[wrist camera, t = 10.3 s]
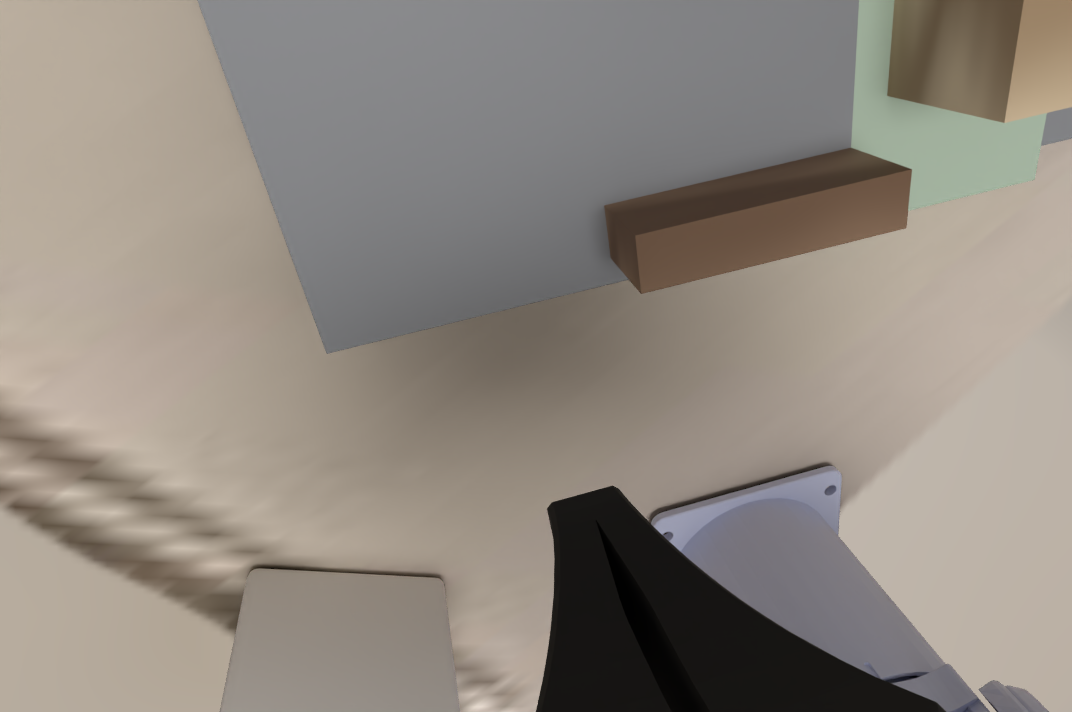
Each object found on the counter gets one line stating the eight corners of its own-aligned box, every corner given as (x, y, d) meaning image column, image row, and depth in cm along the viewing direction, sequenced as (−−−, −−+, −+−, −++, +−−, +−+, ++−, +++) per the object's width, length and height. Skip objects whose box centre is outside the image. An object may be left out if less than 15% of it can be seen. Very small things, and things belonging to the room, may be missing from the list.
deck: (1160, 109, 24) (1254, 125, 22) (331, 308, 21) (326, 353, 19) (1272, -317, 19) (1417, -363, 16) (180, -124, 16) (145, -144, 13)
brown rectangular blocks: (847, 200, 20) (906, 228, 18) (610, 258, 19) (641, 293, 17) (871, -224, 15) (954, -258, 13) (557, -168, 15) (590, -193, 12)
